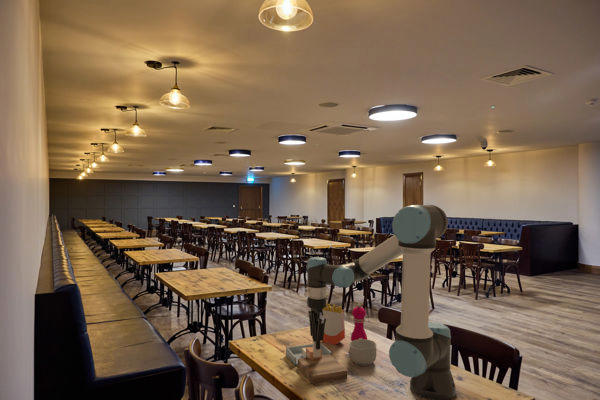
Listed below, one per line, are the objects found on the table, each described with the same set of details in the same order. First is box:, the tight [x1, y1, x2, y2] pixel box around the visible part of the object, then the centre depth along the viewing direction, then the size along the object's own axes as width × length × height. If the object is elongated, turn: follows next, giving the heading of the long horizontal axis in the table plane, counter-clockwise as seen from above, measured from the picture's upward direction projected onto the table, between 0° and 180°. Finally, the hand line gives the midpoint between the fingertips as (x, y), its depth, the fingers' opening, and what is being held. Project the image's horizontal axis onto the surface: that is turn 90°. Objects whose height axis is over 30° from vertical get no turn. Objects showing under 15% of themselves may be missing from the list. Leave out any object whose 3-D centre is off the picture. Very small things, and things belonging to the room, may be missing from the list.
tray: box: [285, 342, 333, 367], centre depth 168 cm, size 12×16×4 cm
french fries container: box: [323, 302, 346, 346], centre depth 186 cm, size 5×11×18 cm, turn 58°
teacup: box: [348, 338, 377, 367], centre depth 164 cm, size 14×11×8 cm
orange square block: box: [306, 347, 322, 360], centre depth 162 cm, size 5×5×3 cm
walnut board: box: [297, 355, 348, 385], centre depth 154 cm, size 16×14×3 cm
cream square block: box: [302, 348, 308, 358], centre depth 166 cm, size 5×5×3 cm
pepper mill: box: [350, 303, 368, 342], centre depth 178 cm, size 7×7×20 cm
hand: (316, 356), depth 159 cm, fingers closed
